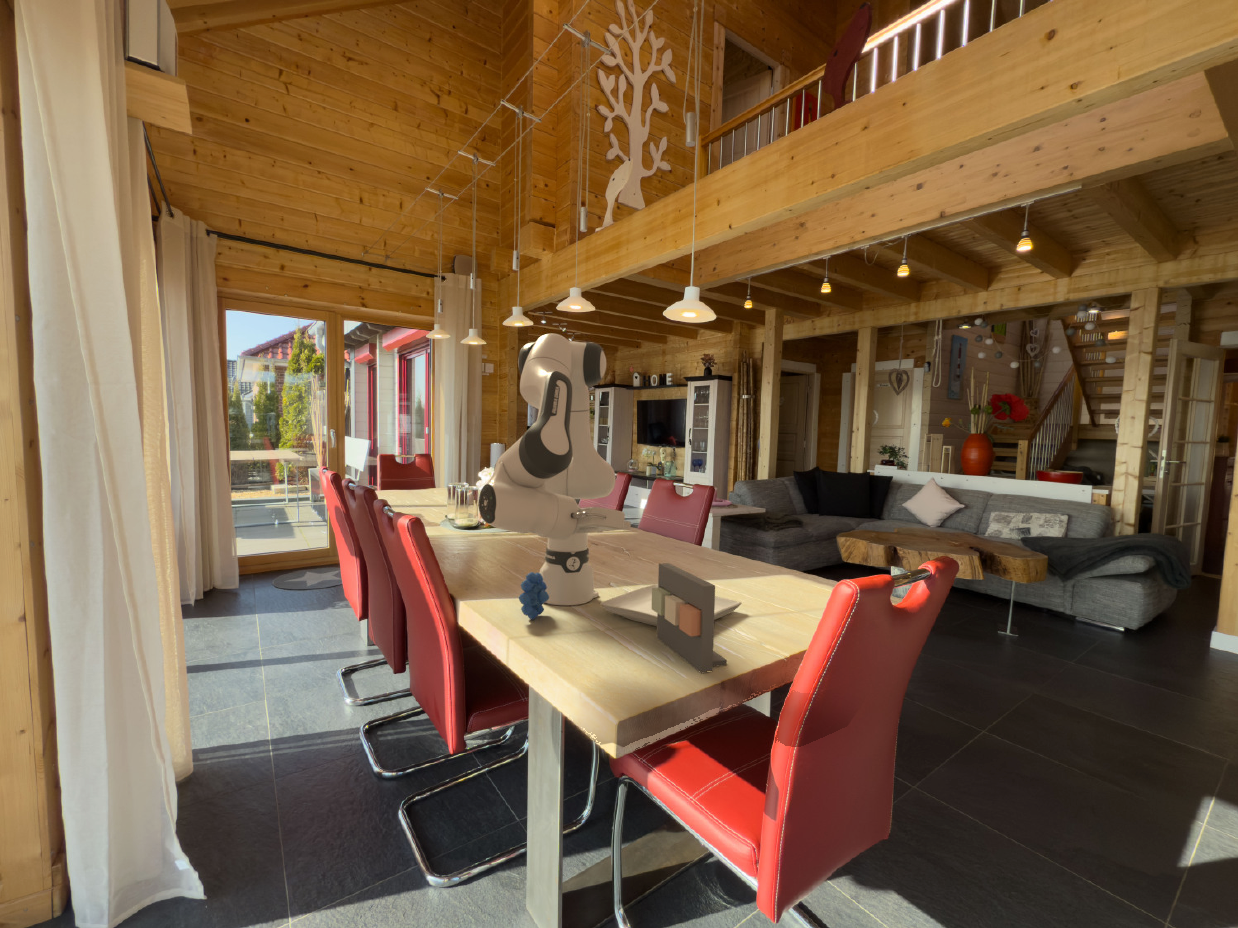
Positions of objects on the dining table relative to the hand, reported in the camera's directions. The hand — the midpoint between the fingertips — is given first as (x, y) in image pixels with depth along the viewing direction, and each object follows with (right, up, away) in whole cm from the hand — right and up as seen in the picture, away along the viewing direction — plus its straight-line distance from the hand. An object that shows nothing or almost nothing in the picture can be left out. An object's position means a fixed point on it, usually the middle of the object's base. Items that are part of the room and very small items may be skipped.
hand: (615, 527), depth 118 cm
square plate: (+14, -26, +25) cm, 39 cm away
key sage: (+11, -19, +4) cm, 22 cm away
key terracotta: (+16, -20, -8) cm, 26 cm away
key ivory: (+13, -19, -2) cm, 24 cm away
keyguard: (+16, -27, 0) cm, 31 cm away
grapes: (-20, -25, +18) cm, 37 cm away
